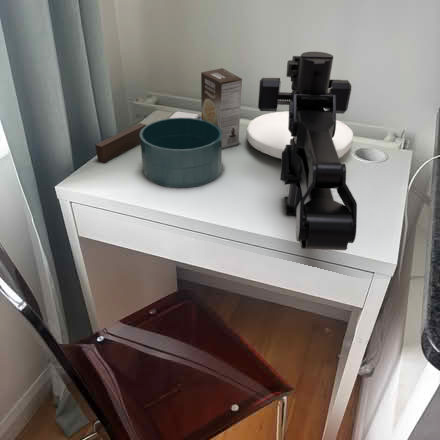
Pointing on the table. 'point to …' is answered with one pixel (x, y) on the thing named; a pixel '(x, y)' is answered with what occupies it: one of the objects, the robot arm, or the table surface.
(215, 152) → the bowl
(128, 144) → the back rail
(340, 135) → the plate
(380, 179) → the table surface
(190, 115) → the smartphone
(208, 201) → the table surface
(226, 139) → the coffee box
